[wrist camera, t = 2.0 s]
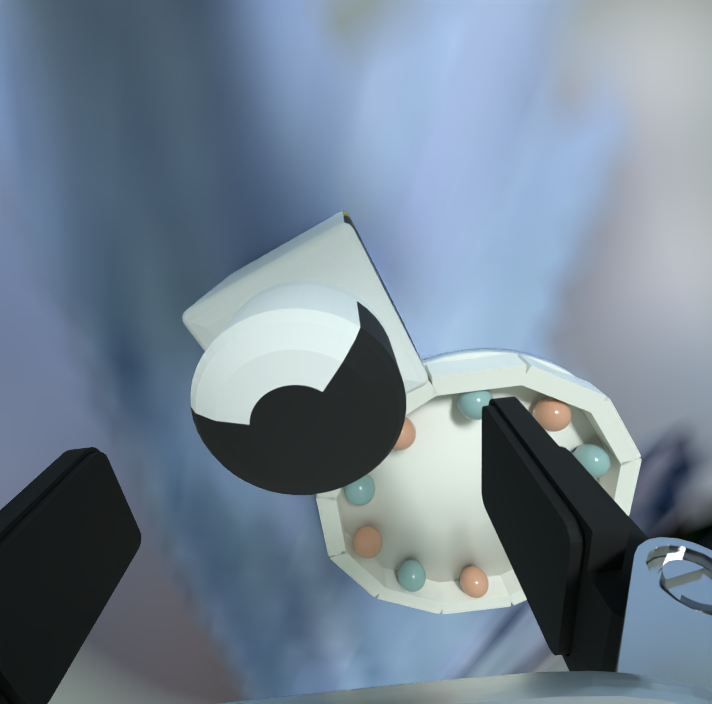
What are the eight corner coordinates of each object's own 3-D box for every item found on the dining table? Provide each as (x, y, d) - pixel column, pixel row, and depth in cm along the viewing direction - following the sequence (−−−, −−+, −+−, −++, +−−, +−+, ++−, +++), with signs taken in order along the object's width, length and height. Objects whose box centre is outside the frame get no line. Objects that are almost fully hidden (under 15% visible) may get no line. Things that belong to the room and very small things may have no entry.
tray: (296, 370, 23) (290, 396, 20) (634, 328, 22) (675, 348, 20) (341, 592, 31) (341, 632, 28) (591, 563, 30) (615, 600, 28)
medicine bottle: (404, 325, 22) (471, 467, 11) (297, 379, 23) (258, 557, 12) (345, 208, 19) (353, 236, 8) (227, 275, 20) (95, 379, 9)
